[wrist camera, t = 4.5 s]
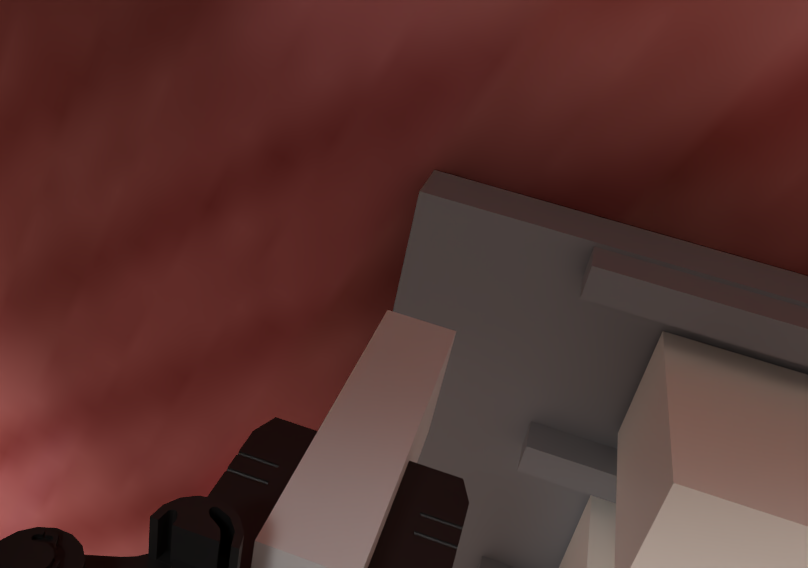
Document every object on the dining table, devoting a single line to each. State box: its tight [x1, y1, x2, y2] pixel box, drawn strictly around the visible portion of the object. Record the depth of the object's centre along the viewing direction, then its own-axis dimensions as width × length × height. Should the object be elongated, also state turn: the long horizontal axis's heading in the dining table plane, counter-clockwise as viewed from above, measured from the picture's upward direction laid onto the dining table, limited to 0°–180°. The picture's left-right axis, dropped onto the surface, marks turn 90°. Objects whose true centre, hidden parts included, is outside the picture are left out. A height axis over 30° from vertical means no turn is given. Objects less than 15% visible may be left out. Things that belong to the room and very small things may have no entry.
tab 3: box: [615, 331, 808, 568], centre depth 15 cm, size 4×3×5 cm
